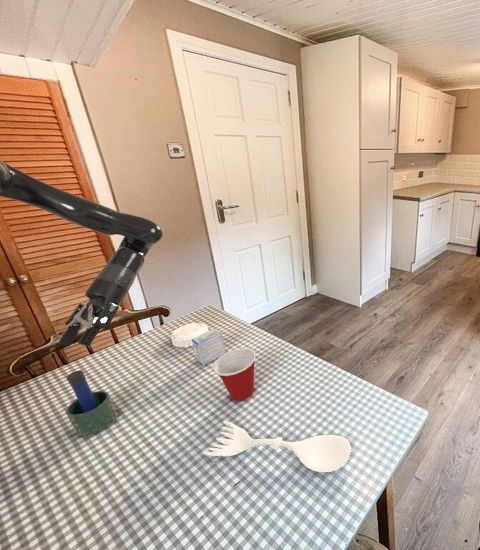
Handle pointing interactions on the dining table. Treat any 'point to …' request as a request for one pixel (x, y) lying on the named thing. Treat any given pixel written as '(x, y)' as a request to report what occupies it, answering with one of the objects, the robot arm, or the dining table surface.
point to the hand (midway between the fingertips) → (73, 344)
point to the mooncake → (187, 334)
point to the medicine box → (208, 346)
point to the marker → (82, 390)
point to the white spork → (312, 452)
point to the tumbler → (92, 415)
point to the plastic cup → (237, 372)
